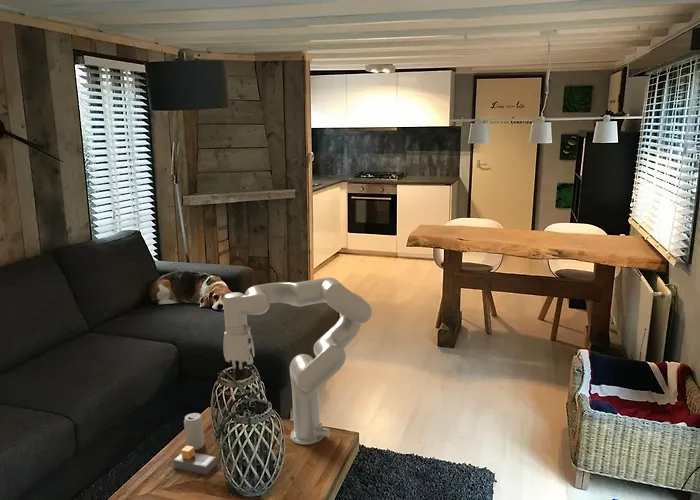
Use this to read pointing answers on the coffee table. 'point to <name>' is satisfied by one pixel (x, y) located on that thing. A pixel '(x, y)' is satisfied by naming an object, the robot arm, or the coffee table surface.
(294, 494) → the coffee table surface
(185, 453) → the orange cube
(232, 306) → the robot arm
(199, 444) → the beverage can
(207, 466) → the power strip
